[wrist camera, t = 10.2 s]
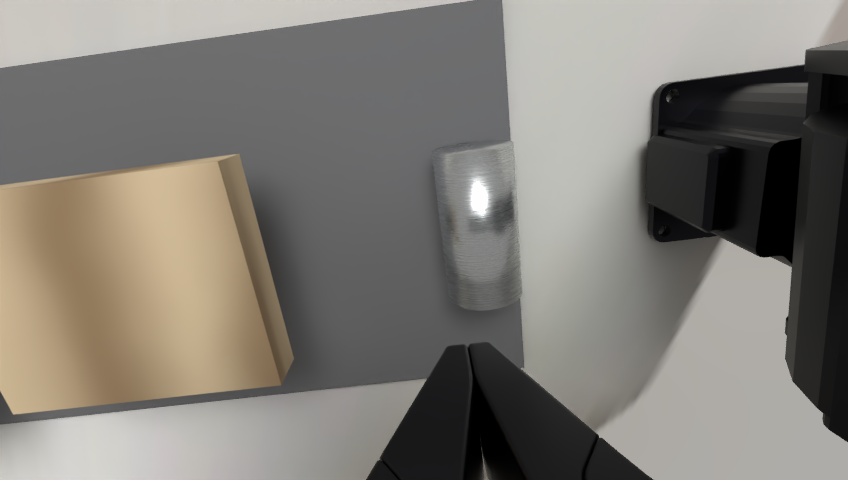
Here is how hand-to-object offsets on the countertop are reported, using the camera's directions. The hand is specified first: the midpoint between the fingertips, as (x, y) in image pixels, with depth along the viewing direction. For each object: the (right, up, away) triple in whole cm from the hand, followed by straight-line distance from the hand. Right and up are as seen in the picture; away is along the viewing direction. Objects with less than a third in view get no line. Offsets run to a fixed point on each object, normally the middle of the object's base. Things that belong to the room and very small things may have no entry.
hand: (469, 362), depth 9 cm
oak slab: (-11, +1, +7) cm, 14 cm away
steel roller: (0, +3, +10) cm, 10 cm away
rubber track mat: (-12, +2, +11) cm, 16 cm away
